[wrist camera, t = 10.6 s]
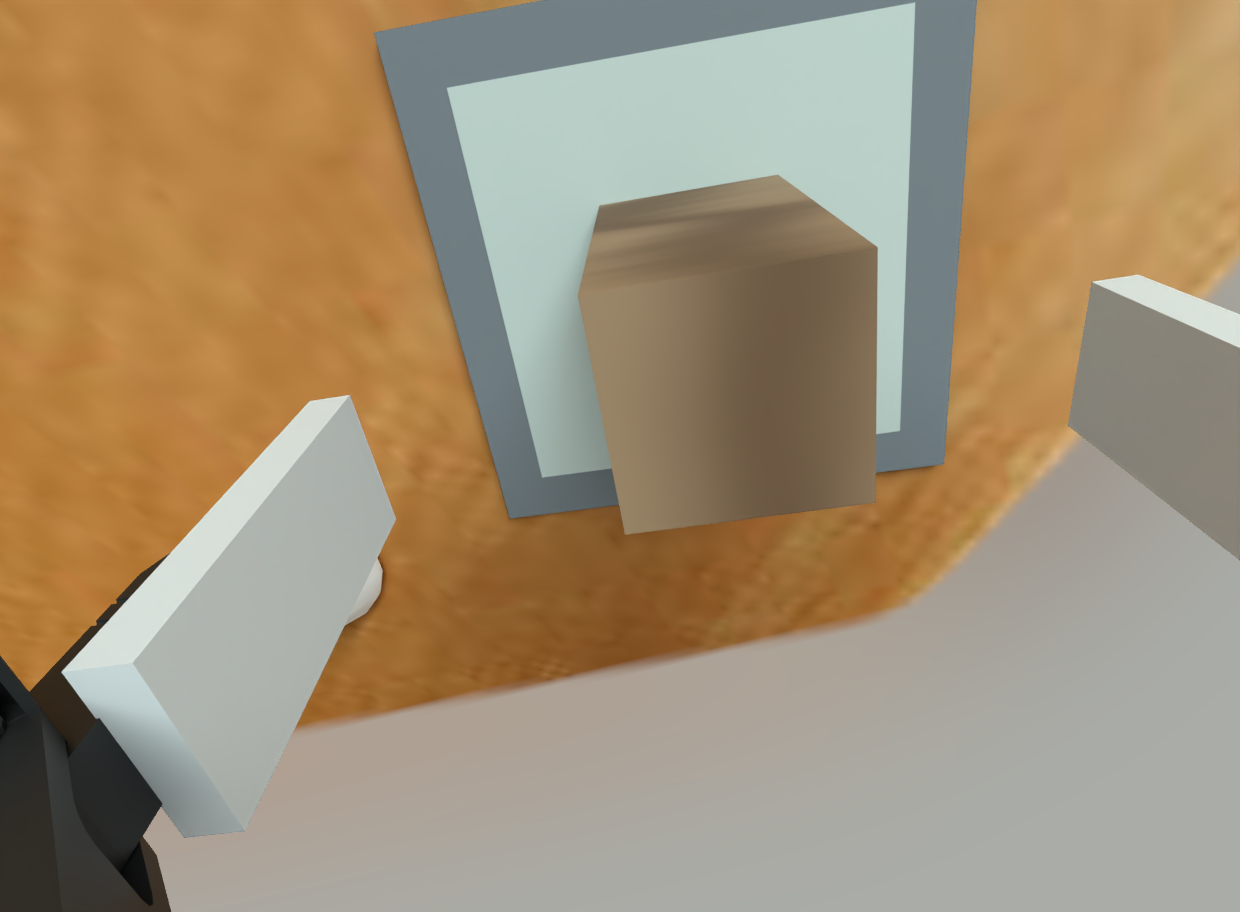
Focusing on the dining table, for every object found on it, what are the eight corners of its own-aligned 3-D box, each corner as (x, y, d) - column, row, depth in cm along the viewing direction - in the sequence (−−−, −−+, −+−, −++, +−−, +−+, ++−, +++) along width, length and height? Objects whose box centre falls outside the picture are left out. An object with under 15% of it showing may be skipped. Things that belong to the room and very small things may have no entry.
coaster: (511, 512, 25) (509, 519, 25) (379, 33, 18) (373, 32, 18) (939, 458, 24) (944, 464, 24) (975, -81, 17) (983, -85, 17)
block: (627, 369, 22) (625, 534, 14) (599, 205, 20) (577, 295, 12) (787, 345, 22) (875, 502, 14) (778, 174, 19) (877, 247, 12)
